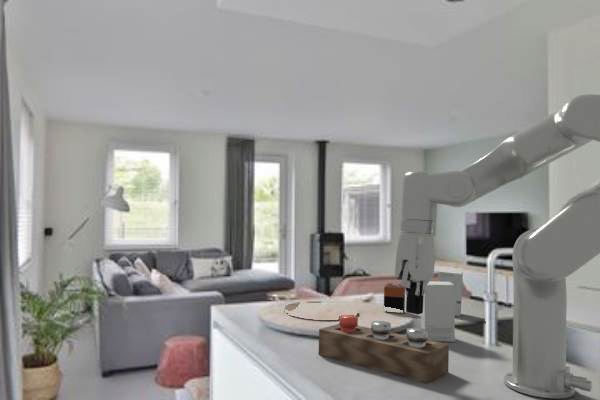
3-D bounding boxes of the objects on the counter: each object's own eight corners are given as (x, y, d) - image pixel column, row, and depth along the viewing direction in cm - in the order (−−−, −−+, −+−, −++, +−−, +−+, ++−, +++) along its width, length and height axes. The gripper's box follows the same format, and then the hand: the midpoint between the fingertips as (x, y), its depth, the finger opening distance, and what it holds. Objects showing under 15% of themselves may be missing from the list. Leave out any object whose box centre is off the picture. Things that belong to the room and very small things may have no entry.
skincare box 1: (450, 336, 134) (451, 281, 134) (455, 343, 127) (456, 284, 128) (419, 335, 134) (420, 280, 135) (423, 341, 128) (424, 283, 128)
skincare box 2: (436, 314, 164) (437, 271, 165) (437, 311, 170) (438, 269, 171) (461, 316, 162) (462, 273, 162) (462, 313, 167) (462, 271, 168)
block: (448, 372, 103) (448, 344, 103) (427, 383, 95) (428, 353, 95) (342, 346, 121) (343, 322, 121) (318, 354, 113) (319, 329, 114)
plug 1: (393, 346, 108) (394, 323, 109) (383, 350, 105) (384, 326, 105) (377, 342, 111) (377, 320, 111) (367, 346, 108) (367, 322, 108)
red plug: (360, 339, 114) (361, 316, 114) (350, 342, 111) (350, 319, 111) (345, 335, 117) (346, 314, 117) (335, 338, 114) (335, 316, 114)
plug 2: (430, 354, 103) (431, 330, 103) (421, 359, 99) (421, 333, 99) (412, 350, 105) (412, 326, 106) (402, 354, 102) (403, 330, 102)
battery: (385, 310, 170) (386, 282, 170) (404, 311, 168) (405, 283, 168) (383, 312, 166) (384, 283, 166) (403, 314, 163) (403, 285, 164)
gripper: (418, 227, 111) (414, 306, 111) (385, 227, 100) (381, 314, 100) (448, 229, 106) (445, 311, 106) (418, 229, 95) (413, 321, 95)
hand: (414, 312), depth 103 cm, fingers closed
